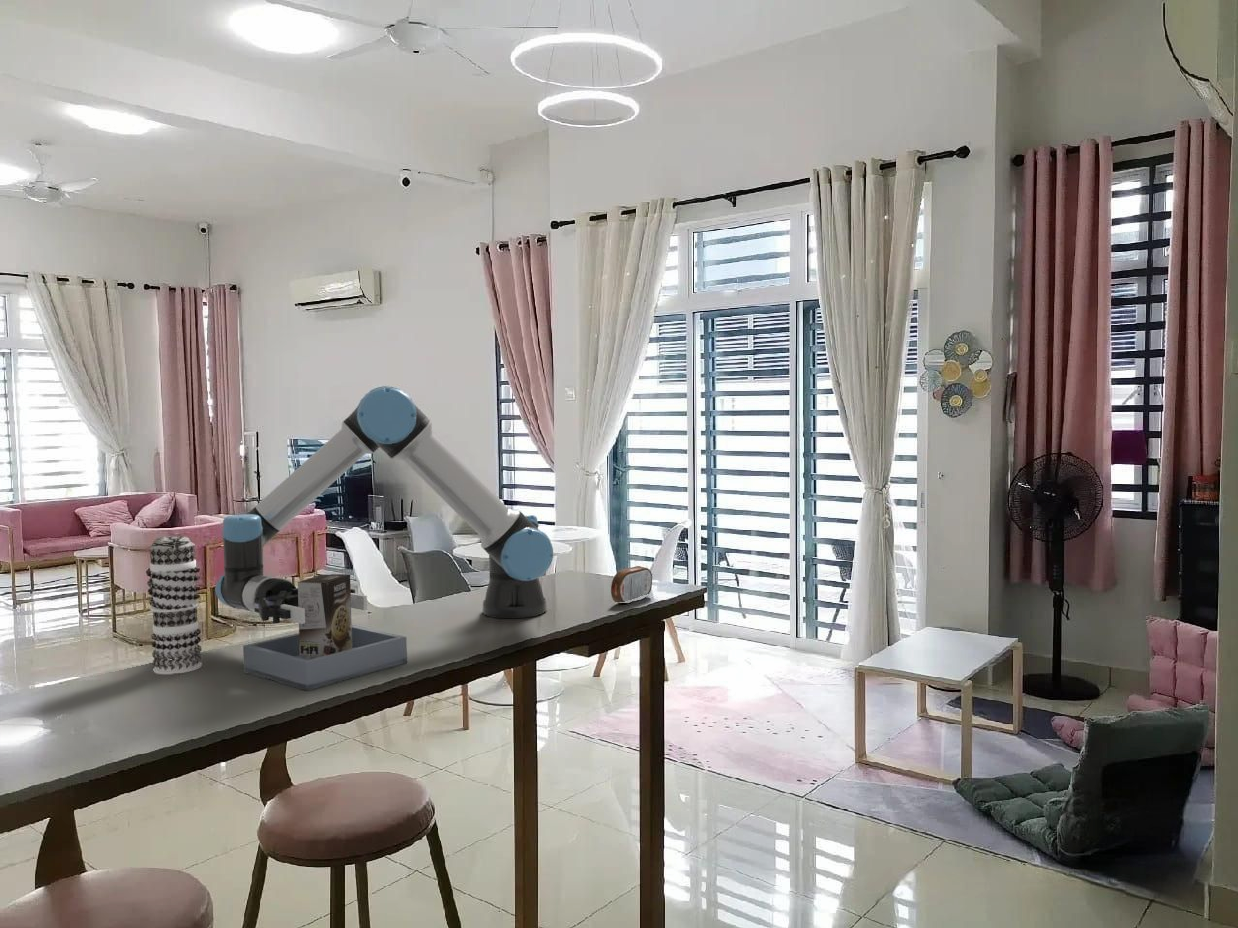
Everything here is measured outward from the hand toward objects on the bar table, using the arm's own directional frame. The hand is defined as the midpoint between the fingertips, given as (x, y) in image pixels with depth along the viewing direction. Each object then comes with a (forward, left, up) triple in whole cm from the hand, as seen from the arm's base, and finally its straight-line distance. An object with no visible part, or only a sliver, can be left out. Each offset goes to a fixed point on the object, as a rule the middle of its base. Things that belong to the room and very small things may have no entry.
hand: (335, 609), depth 175 cm
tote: (0, -3, -12) cm, 12 cm away
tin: (-81, +9, -12) cm, 82 cm away
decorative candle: (+17, -26, -12) cm, 33 cm away
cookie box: (0, -3, -11) cm, 11 cm away
